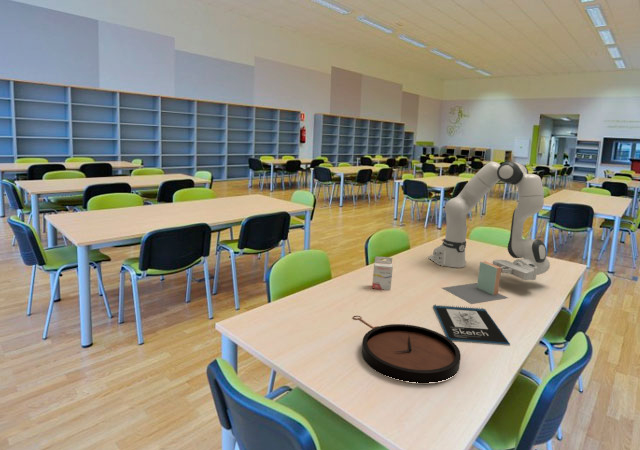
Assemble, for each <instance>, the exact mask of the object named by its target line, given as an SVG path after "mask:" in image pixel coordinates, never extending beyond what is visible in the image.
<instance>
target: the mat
mask: <svg viewBox="0 0 640 450" xmlns="http://www.w3.org/2000/svg"><path fill="white" fill-rule="evenodd" d="M477 283H478V282H475V283H466V284H461V285H460V284H459V285H451V286H445V287H441V290H444V291H446V293H450V294H452V296H454V297H455V296H456V297H458V298H459V299H460V300H462V301H465V302H467V303H469V304H470V305H475V304H480V303H487V302H493V301H494V302H495V301H498V300H499V301H500V300H505V299H509V297H507V296H505V295H503V294H501V293H499V292H498V294H497V295H492V294H489V293H487V292H485V291H483V290H481V289H479V288H477Z"/></svg>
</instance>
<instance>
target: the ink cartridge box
mask: <svg viewBox="0 0 640 450" xmlns="http://www.w3.org/2000/svg"><path fill="white" fill-rule="evenodd" d="M393 269H394V268H393V257H390V256H389V257H388V256H377V255H376V256H375V257H374V262H373V273H372V275H373V276H372V285H371V286H372V289H373V288H374V289H373V290H382V289H384V290H383V291H391V288H392V281H393V280H392V279H393Z"/></svg>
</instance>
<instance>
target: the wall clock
mask: <svg viewBox="0 0 640 450" xmlns="http://www.w3.org/2000/svg"><path fill="white" fill-rule="evenodd" d="M378 326H379V327H377V326H375V327H376V328H374V329H372V328H371V329H370V330H369V331H367V332H366V333H365V335H364V336H363V338H362V343H361V355H362V358H363V360H364V361H365V363H366V364H367V365H368V366H369V367H370V368H371V369H373V370H374V371H375V370H376V371H375V372H377V373H378V372H379V374H380V373H381V374H380V375H382V374H383V375H382V376H384V375H386V376H389V377H392V378H395V379H399V380H403V381H409V382H416V383H417V382H418V383H429V382H438V381H442V380H446V379H448V378H450V377H452V376H454V375H455V374H456V373H457V374H458V372H459V371H460V370H459V369H460V364H461V357H462V355H461V351H460V349H459V347H458V346H457V344H456V343H455V342H454V341H451V340H450V339H448V338H447V337H446V335H445V334H444V335H443V334H441V333H440V332H437V331H435V330H432V329H430V328H426V327H423V326H418V325H413V324H405V323H404V324H403V323H399V324H398V323H397V324H396V323H393V324H385V325H378ZM457 371H458V372H457ZM457 374H456V375H457ZM456 375H455V376H456ZM386 376H385V377H386ZM455 376H454V377H455ZM389 377H388V378H389ZM452 378H453V377H452Z"/></svg>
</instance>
